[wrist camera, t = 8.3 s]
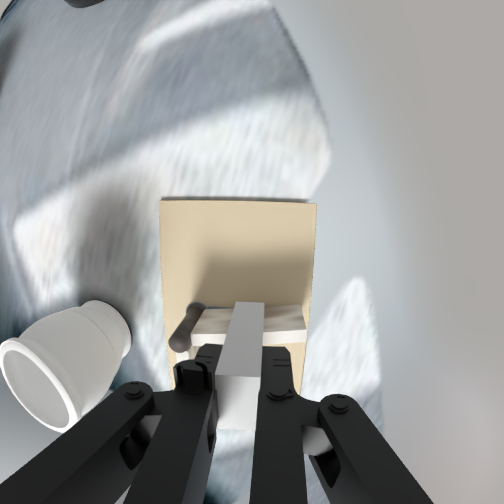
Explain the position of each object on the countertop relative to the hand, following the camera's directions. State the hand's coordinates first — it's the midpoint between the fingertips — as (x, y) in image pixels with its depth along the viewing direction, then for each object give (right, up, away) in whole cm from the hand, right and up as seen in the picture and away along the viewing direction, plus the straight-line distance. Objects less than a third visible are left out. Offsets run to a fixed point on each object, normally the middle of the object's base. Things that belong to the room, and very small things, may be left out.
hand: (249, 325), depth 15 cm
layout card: (-2, -3, +16) cm, 16 cm away
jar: (-19, -6, +18) cm, 26 cm away
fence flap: (-1, -2, +15) cm, 15 cm away
